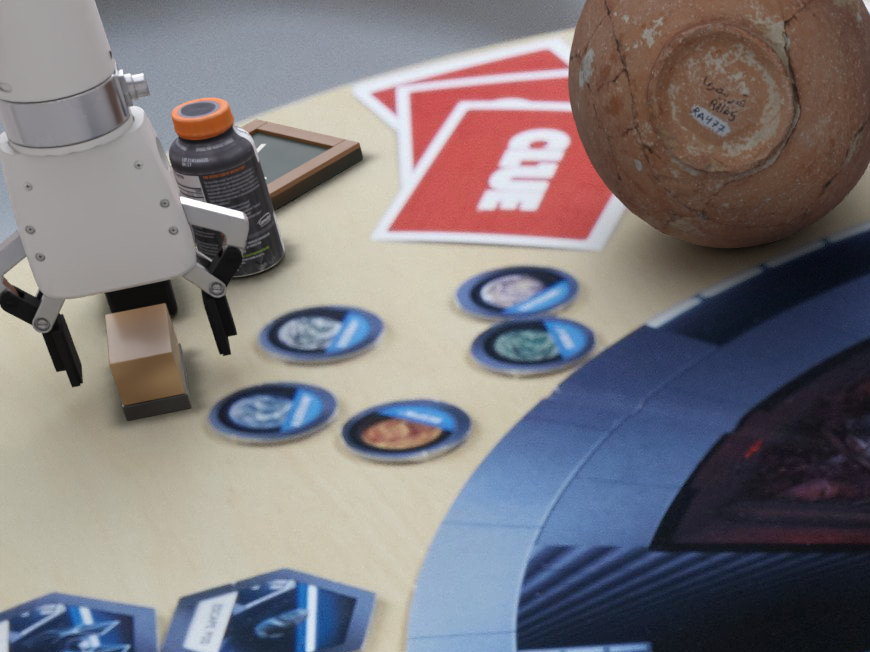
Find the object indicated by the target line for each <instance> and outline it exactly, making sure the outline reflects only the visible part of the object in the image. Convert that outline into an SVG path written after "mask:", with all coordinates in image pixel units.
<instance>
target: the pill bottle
mask: <svg viewBox="0 0 870 652" xmlns="http://www.w3.org/2000/svg"><path fill="white" fill-rule="evenodd" d="M170 117H171V120H172V124H173V129H174V131H175V133H176V135H177V138H175V139H174V140H173V142H172V143H171V144H170V146H169V150H168V160H169V163H170V166H171V165H172V169H173V172H174V175H175V178H176V182H177V184H178V187H179V190H180V192H181V195H182V197H186V198H190V199H194V200H198V201H202V202H205V203H209V204H213V205H217V206H221V207H225V208H229V209H233V210H237V211H241V212H243V213H245V214H246V215H247V217H248V222H249V232H248V236H247V240H246V245H245V249H244V252H243V257H242V264H241V265H240V267H239V268H238V270H237V272H236V273H235V275H234V276H233V278H242V277H247V276H252V275H256V274H260V273H262V272H264V271H267V270H269V269H271V268H272V267H274V266H276V265H278V263H279V262H280V261H281V260H282V259H283V258H284V256H285V252H286V247H285V243H284V240H283V236H282V233H281V229H280V226H279V223H278V219H277V216H276V212H275V210H274V208H273V205H272V202H271V198H270V194H269V191H268V187H267V184H266V181H265V177H264V174H263V170H262V167H261V164H260V160H259V157H258V153H257V150H256V146H255V143H254V140H253V138H252V137H251V135H250V134H249V133H248V132H247V131H245V130H244V129H242V128H241V127H240V126H238V125H235V123H234V122H235V118H234V115H233V113H232V109H231V106H230V103H229V102H228V101H227V100H225V99H223V98H219V97H201V98H195V99H191V100H188V101H185V102H183V103H180V104H179V105H177V106H176V107H174V108H173V110H172V111H171V113H170ZM192 228H193V232H194V236H195V242H194V244H195V246H196V249H197V250H198V251H200V252H201V253H203V254H204V255H206V256H207V257H209V258H210V259H212V260H213V258H214V257H215V255H216V254H217V252H218V250H219V249H220V247H221V246H222V244H223V241H224V234H223V233H222V232H219V231H215V230H211V229H207V228H203V227H199V226H195V225H192Z"/></svg>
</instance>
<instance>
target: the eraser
mask: <svg viewBox="0 0 870 652" xmlns="http://www.w3.org/2000/svg"><path fill="white" fill-rule="evenodd" d="M171 318H172V317H171V316H170V315H169V312H168V309H167V306H166V304H165V303H163V304H158V305H153V306H148V307H143V308H138V309H132V310H127V311H122V312H117V313H107V314H105V315H104V322H105V333H106V345H107V354H108V355H107V357H108V367H109V368H110V369H109V370H110V371H111V374H112V377H113V380H114V384H115V385H116V389H117V391H118V395H119V398H120V401H121V409H122V411H123V414H124V417H125V420H126V421H133V420H137V419H142V418H147V417H152V416H157V415H162V414H167V413H172V412H178V411H183V410H188V409H191V408H192V402H191V401H192V400H191V393H190V386H189V380H188V371H187V364H186V359H185V354H184V350H183V347H182V344H181V343H179V340H178V337H177V333H176V331H175V328H174V325H173V322H172V319H171Z"/></svg>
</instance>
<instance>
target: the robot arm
mask: <svg viewBox="0 0 870 652" xmlns="http://www.w3.org/2000/svg"><path fill="white" fill-rule="evenodd" d="M150 96H151V92H150V88H149V84H148V82H147V78H146V75H145V73H144V72H141V73H135V74H132V73H131V72H127V73H125V71H124V69H123V68H121V69H119V67H118V64H117V61H116V60H115V58H114V55H113V52H112V49H111V46H110V43H109V40H108V37H107V34H106V30H105V27H104V24H103V21H102V18H101V16H100V12H99V9H98V6H97V3H96V0H0V121H1V125H2V127H3V131H2V132H1V133H0V165H1V168H2V169H1V170H2V174H3V178H4V182H5V187H6V191H7V195H8V199H9V203H10V206H11V209H12V213H13V217H14V221H15V223H16V227H17V229H16V230H15V231H14V232H12V233H11V234H10V235H9V236H8V237H6V238H5V239H4V240H3V241H2V242H0V308H1V309H2V310H3V311H4V312H6V313H7V314H9V315H11V316H13V317H15V318H17V319H18V320H21V321H22V322H25V323H27V324H28V325H30V326H32V328H33V329H34V330H35V332H37V333H39V334H41V335H42V338H43V340H44V341H43V342H44V343H45V345H46V348H47V351H48V354H49V356H50V359H51V362H52V365H53V367H54V370H55V372H56V373H59V372H64V371H65V372H66V375H67V378H68V381H69V383H70V386H71V388H77V387H81V384H84V380H83V379H84V378H83V377H84V376H83V367H82V362H81V359H80V356H79V353H78V350H77V347H76V345H75V342H74V339H73V336H72V334H71V332H70V329H69V326H68V322H67V321H66V318H65V315H64V314H63V313H61V310H62V308H63V307H64V304H65V302H66V300H75V299H79V298H85V297H90V296H96V295H100V294H105V293H107V292H112V291H117V290H122V289H127V288H131V287H136V286H141V285H146V284H151V283H156V282H160V281H165V280H169V279H170V280H173V279H177V278H180V277H182V278H183V279H185V281H186V280H187V281H188V282H189V283H191V284H192V285H194V286H196V287H197V288H198V289H200V293H201V298H202V304H203V307H204V311H205V313H206V316H207V317H206V318H207V320H208V323H209V326H210V329H211V332H212V335H213V338H214V341H215V344H216V348H217V351H218V354H219V355H222V356H223V357H226V356H231V355H232V350H231V346H230V339H229V337H232V336H234V337H235V336H237V335H238V331H237V326H236V324H235V320H234V317H233V314H232V311H231V307H230V304H229V301H228V297H227V294H226V293H227V287H229V284H230V283H231V281H232V280H233V278H234V277H233V276H234V275H235V273H236V272H237V270H238V268H239V267H240V265H241V264H242V257H243V252H244V249H245V245H246V240H247V236H248V232H249V222H248V217H247V215H246V214H245V213H243V212H241V211H237V210H233V209H229V208H225V207H221V206H217V205H213V204H209V203H205V202H202V201H198V200H194V199H190V198H186V197H182V195H181V192H180V190H179V187H178V184H177V182H176V179H175V176H174V174H173V171H172V169H171V163H170V160H169V158H168V156H167V154H166V152H165V150H164V149H165V148H164V147H163V145H162V142H161V140H160V138H159V137H158V134H157V133H156V131H155V128H154V126H153V124H152V123H151V121H150V119H149V117H148V115H147V114H146V112H145V111H144V109H143V108H142V107H140V106H138V105H137V106H136V105H134V102H135V101H139V100H140V98H144V97H150ZM192 225H195V226H199V227H203V228H207V229H211V230H215V231H219V232H222V233H223V234H224V241H223V244H222V246H221V247H220V249H219V250H218V252H217V254H216V255H215V257H214V258H213V260H212V259H210V258H209V257H207V256H206V255H204V254H203V253H201V252H200V251H198V249H197V248H196V247H195V246H196V244H195V236H194V232H193V228H192ZM25 259H27V263H28V265H29V269H30V271H31V273H32V276H33V279H34V281H35V284H36V285H37V287H38V289H37V291H36V293H35V295H33V294H31V293H29V292H27V291H25V290H23V289H21V288H19V287H18V286H16V285H13V284H11V283H10V282H9V281H8V279H7V278H6V277H5V275H6V274H7V273H8V272H9V271H11V270H12V269H13V268H14V267H15V266H17V265H18V264H19V263H20V262H22V261H23V260H25Z"/></svg>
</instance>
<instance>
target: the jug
mask: <svg viewBox="0 0 870 652" xmlns="http://www.w3.org/2000/svg"><path fill="white" fill-rule="evenodd" d="M571 42H572V43H571V47H570V52H569V57H568V71H567V73H568V76H567V78H568V79H567V88H568V98H569V104H570V110H571V115H572V117H573V121H574V124H575V128H576V131H577V134H578V137H579V140H580V142H581V144H582V146H583V149H584V152H585V153H586V155H587V157H588V160H589V162H590V163H591V166H592V167H593V169H594V170H595V172H596V173H597V175H598V177H599V179H601V180H602V182H603V183H604V185H605V186H606V188H607V189H608V190H609V191H610V192H611V194H613V195H614V196H615V197H616V198H617V200H618V201H620V203H621V204H622V205H623V206H624V207H625V208H626V209H627V210H628V211H629V212H630V213H632V214H633V215H635V216H636V217H637V218H639V219H641V220H642V221H643V222H645V223H646V224H648V225H649V226H650V227H652V228H654V230H657V231H659V232H661V233H663V234H665V235H667V236H669V237H672V238H675V239H677V240H681V241H684V242H686V243H689V244H693V245H695V246H701V247H707V248H714V249H715V248H716V249H739V248H748V247H755V246H760V245H764V244H768V243H773V242H777V241H779V240H782V239H785V238H788V237H791V236H793V235H795V234H797V233H798V232H800V231H803V230H804V229H807V228H808V227H810V226H811V225H813V224H815V223H816V222H818V221H820V220H821V219H822V218H824V217H825V216H827V215H829V214H830V213H831V212H832V211H833V210H834V209H835V208H836V207H837V206H838V205H840V204H841V203H842V202H843V201H844V200H845V199H846V197H847V196H848V195H849V194H850V193H851V192H852V190H853V189H854V188H855V187H856V186H857V184H858V183H859V181H860V180H861V179H862V177H863V176H864V174H865V172H866V171H867V169H868V167H869V165H870V12H869V10H868V7H867V6H866V4H865V2H864V0H585V3H584V5H583V7H582V10H581V12H580V15H579V17H578V20H577V23H576V25H575V29H574V32H573V38H572V41H571Z"/></svg>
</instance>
